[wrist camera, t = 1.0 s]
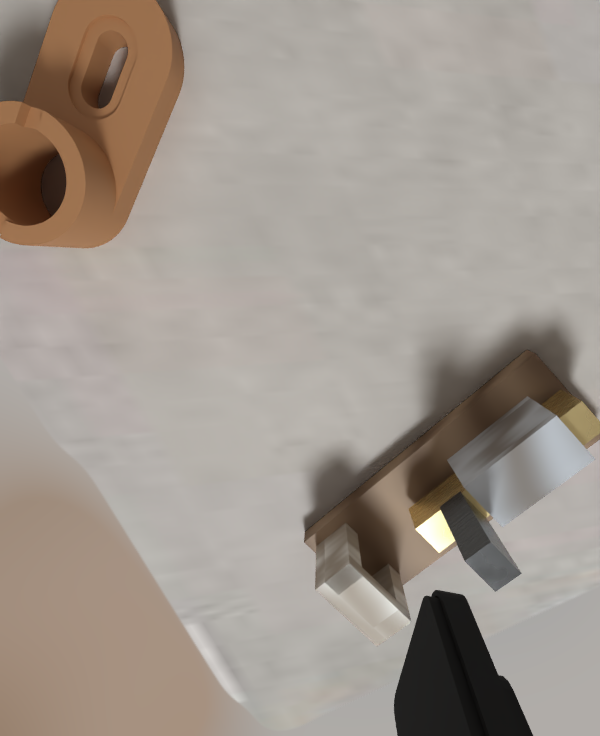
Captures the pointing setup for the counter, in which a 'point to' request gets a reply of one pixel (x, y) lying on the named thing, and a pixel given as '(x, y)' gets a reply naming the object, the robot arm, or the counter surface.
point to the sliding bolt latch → (425, 472)
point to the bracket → (88, 122)
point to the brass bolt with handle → (469, 519)
